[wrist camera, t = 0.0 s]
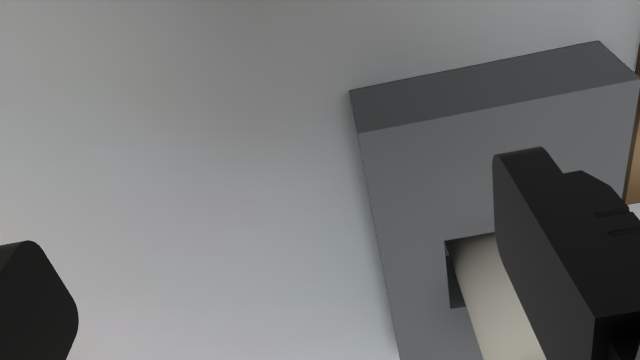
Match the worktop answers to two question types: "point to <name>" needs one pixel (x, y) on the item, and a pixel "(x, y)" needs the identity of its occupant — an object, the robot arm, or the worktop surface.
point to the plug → (492, 300)
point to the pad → (633, 158)
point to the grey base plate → (476, 167)
